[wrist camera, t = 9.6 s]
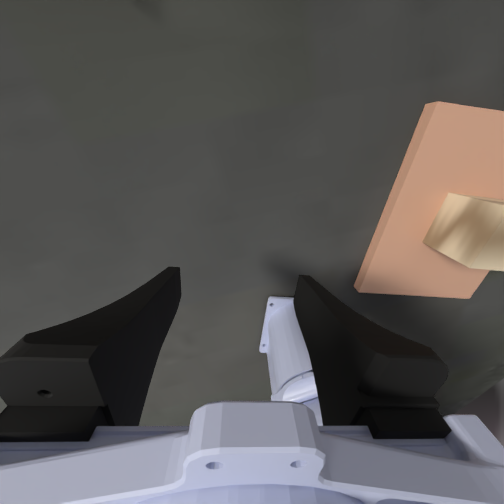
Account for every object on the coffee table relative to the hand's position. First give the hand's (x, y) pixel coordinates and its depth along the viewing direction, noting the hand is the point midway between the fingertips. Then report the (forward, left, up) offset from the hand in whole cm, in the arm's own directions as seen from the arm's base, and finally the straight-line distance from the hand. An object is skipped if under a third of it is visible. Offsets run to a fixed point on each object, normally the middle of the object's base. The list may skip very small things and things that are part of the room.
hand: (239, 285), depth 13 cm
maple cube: (+3, -21, -8) cm, 23 cm away
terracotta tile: (+3, -21, -9) cm, 23 cm away
